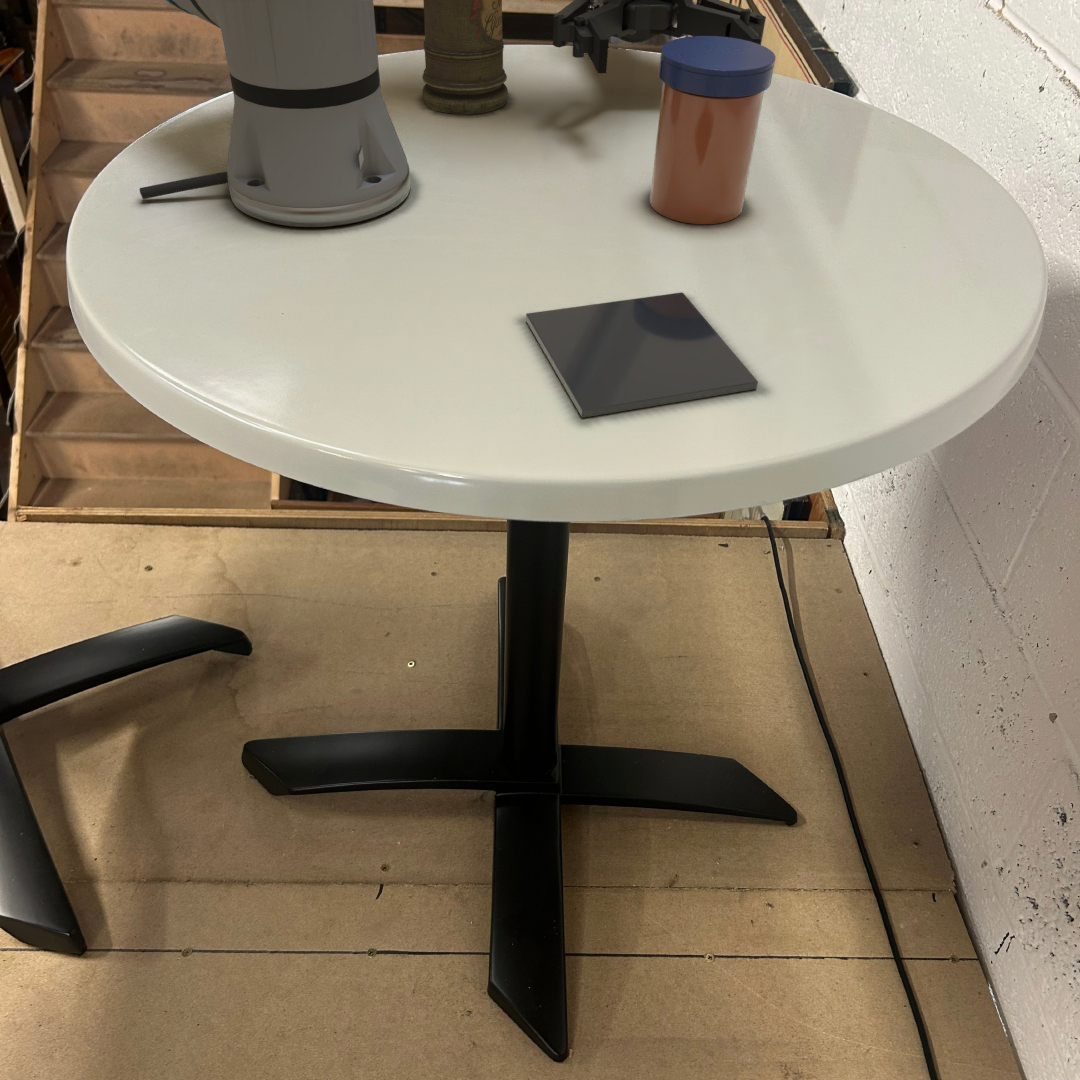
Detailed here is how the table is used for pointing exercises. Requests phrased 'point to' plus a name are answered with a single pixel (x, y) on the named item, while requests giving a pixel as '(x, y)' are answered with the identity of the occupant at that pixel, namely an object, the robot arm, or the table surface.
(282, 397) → the table surface
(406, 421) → the table surface
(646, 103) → the table surface
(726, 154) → the jar
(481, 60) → the container
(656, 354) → the coaster
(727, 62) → the lid
